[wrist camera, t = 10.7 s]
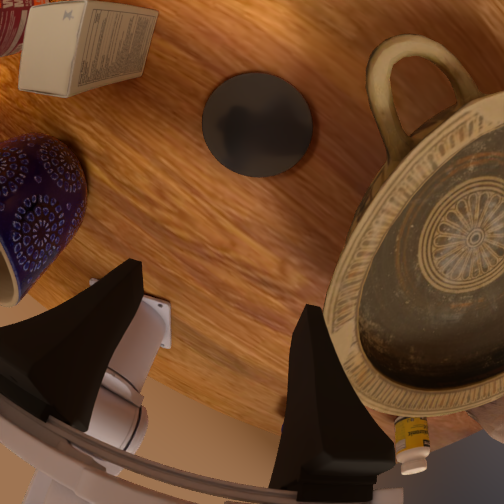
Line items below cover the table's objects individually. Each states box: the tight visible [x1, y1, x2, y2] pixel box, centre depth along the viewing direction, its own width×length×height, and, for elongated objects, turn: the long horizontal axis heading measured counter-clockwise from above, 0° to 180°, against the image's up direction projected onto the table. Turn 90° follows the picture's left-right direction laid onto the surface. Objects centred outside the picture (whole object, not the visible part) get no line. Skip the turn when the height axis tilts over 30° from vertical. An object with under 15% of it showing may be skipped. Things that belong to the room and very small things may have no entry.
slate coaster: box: [202, 72, 313, 177], centre depth 18 cm, size 7×7×1 cm
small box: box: [18, 0, 159, 98], centre depth 12 cm, size 5×4×8 cm
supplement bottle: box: [395, 416, 430, 475], centre depth 34 cm, size 5×5×10 cm
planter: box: [0, 132, 87, 307], centre depth 18 cm, size 11×11×11 cm
